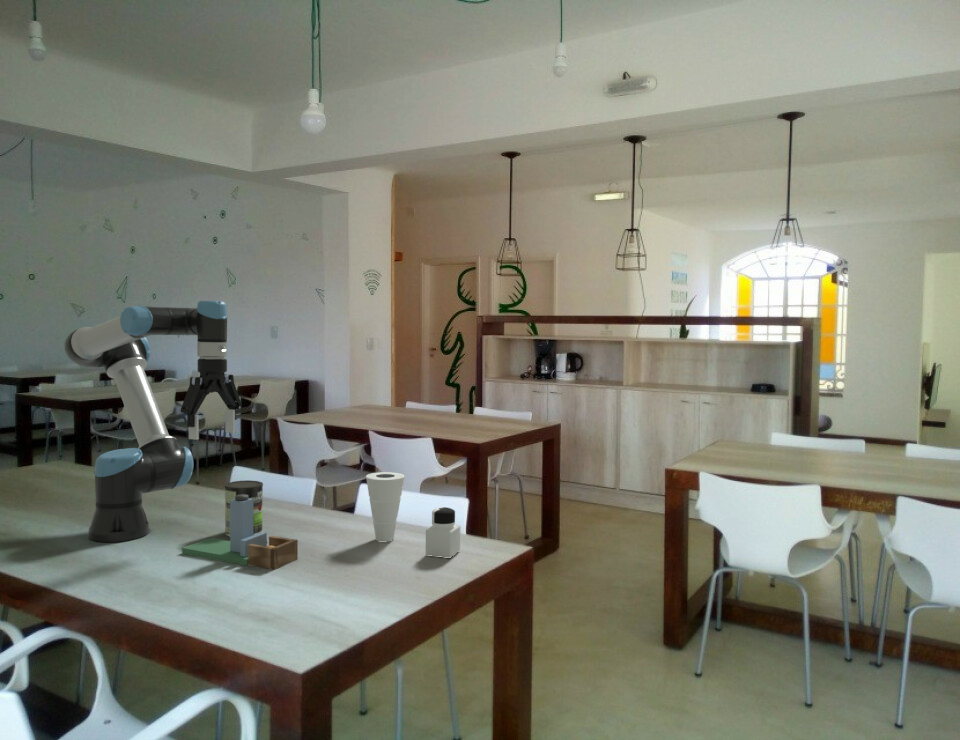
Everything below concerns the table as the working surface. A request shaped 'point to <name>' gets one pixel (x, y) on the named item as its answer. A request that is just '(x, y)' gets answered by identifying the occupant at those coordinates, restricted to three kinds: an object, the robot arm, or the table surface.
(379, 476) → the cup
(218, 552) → the plate
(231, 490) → the coffee can
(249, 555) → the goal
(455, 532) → the medicine bottle
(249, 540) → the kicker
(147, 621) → the table surface
